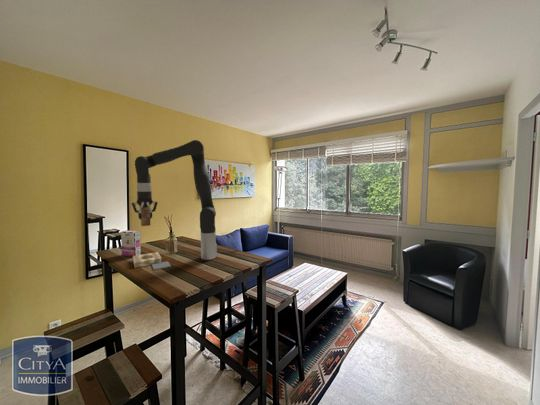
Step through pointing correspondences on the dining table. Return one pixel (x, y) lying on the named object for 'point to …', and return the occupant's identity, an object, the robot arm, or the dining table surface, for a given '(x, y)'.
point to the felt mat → (161, 265)
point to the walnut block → (145, 216)
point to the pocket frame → (146, 259)
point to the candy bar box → (130, 243)
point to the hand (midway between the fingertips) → (145, 218)
